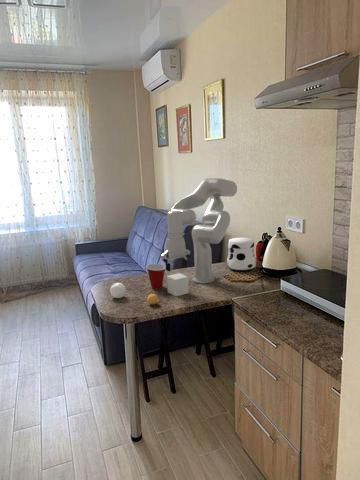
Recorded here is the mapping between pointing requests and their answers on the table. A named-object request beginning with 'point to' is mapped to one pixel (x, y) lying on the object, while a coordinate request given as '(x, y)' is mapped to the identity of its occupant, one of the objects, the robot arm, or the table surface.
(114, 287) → the geometric ball
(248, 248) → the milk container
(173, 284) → the white angular block
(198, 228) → the robot arm
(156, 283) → the plastic cup
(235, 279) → the table surface
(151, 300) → the ball
